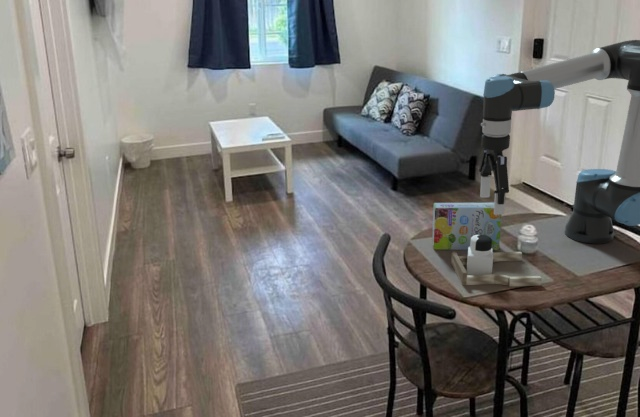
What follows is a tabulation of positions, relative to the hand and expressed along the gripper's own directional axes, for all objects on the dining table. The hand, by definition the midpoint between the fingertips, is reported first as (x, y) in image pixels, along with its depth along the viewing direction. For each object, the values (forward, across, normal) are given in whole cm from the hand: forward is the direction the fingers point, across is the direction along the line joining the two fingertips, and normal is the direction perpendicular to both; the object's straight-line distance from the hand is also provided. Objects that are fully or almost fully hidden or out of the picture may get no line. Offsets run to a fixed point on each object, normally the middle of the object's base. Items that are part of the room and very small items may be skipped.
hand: (491, 205), depth 165 cm
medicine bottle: (+22, +1, -3) cm, 22 cm away
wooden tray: (+21, +1, 0) cm, 21 cm away
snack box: (+22, -18, -2) cm, 28 cm away
